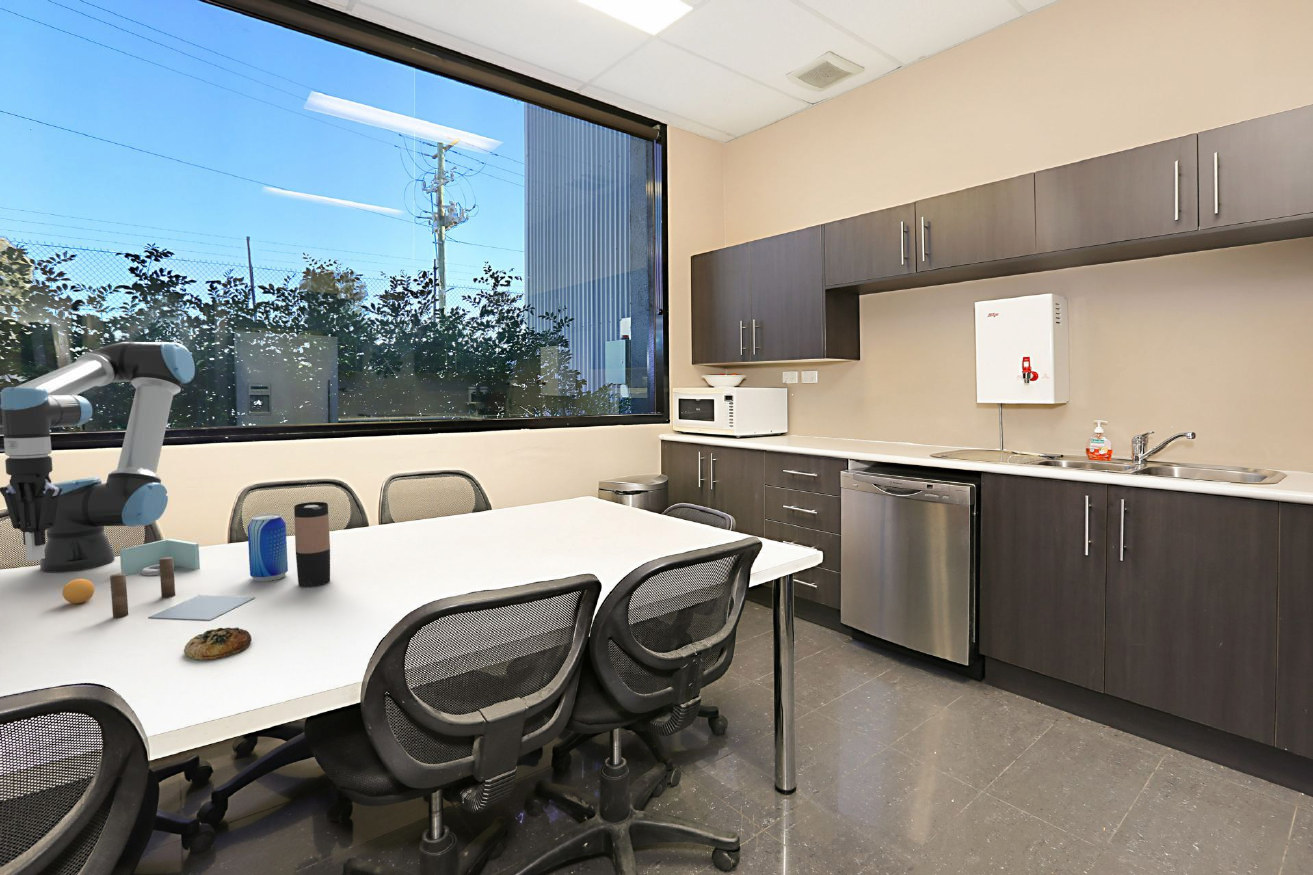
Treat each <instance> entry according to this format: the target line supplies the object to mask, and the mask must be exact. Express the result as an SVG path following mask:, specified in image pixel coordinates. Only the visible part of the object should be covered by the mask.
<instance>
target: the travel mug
mask: <svg viewBox="0 0 1313 875" xmlns="http://www.w3.org/2000/svg"><path fill="white" fill-rule="evenodd" d="M293 509H294V512H293V513H294V538H295V539H294V540H295V544H294V545H295V558H296V559H295V560H296V572H297V584H298V587H301V588H316V587H321V585H322V586H325V585H328V584H329V583H330V582H331V537H330V523H329V522H330V520H329V519H330V518H329V504H328V503H327V502H325V501H312V502H311V501H310V502H308V501H307V502H303V503H301V502H300V503H298V504H295V505H294V506H293ZM328 582H329V583H328Z"/></svg>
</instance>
